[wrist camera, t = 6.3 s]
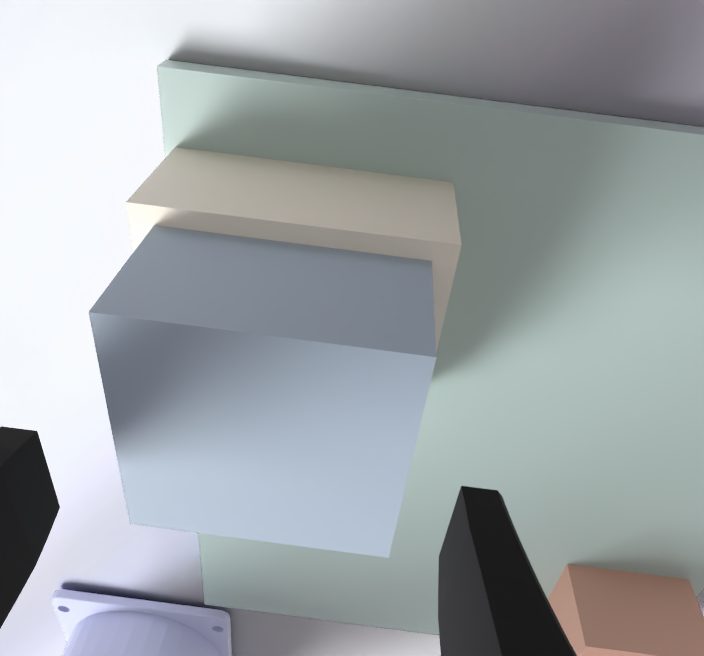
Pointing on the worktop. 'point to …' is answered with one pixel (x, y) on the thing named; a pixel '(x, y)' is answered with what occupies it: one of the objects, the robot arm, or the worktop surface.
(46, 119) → the worktop surface
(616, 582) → the brick
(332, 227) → the brick
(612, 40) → the worktop surface
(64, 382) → the worktop surface
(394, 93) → the baseplate
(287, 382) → the brick
